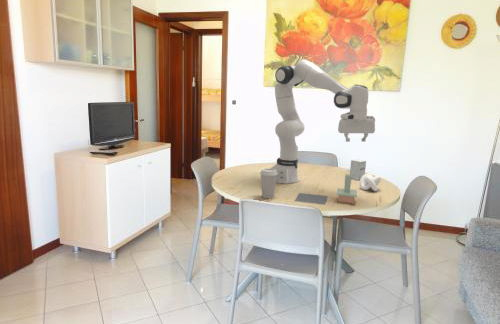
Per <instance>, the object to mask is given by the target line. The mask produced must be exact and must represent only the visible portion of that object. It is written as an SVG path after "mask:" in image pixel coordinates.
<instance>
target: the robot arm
mask: <svg viewBox="0 0 500 324" xmlns="http://www.w3.org/2000/svg"><path fill="white" fill-rule="evenodd" d="M274 77H275V79H276V81H277V82H276V83H275V84H274V85H275V86H274V96H275V103H276V109H277V112H278V114H279V115H280V116H281V118H282V120H281V121H280V122H278V123H277V124H276V125H275V128H274V129H275V134H276V136H277V137H278V141H279V148H280V149H279V151H280V152H279V153H280V154H279V157H278V158H277V159H276V164H274V165H273V166H272V167H270V168H269V169H275V170H276V171H277V173H278V175H277V178H276V184H277V183H279V184H284V185H285V184H293V183H294V184H295V183H298V182H299V181H300V180H299V175H298V167H299V160H298V155H299V154H298V153H299V146H298V145H297V142H296V137H298V136H300V135H302V134H303V133H304V131H305V124H304V123H303V121H302V120H301V119H300V116H299V114H298V111H297V108H296V104H295V99H294V93H293V87H297V86H299V85H300V84H301V83H306V84H307V85H309V86H311V87H312V88H314V89H315V88H316V89H321V90H322V89H323V90H327V91H329V92H331V93H332V94H334V96H333V103H334V106H335V107H336V108H339V109H343V110H344V109H346V110H347V109H348V110H349V111H347V112H344V113H342V114H340V120H339V121H338V128H337V131H338V133H340V134H344V138H345V142H346V143H347V142H350V141H351V138H349V134H363V135H364V136H363V137H361V140H360V141H361V142H366V141H367V140H366V139H367V138H368V136H369V134H374V133H375V132H376V118H375V117H374V116H373V115H368V108H367V106H368V103H369V89H368V87H367V86H366V85H362V84H353V85H352V86H350V87H348V88H347V87H346V86H344V84H341V83H340V82H338V81H337V80H335V79H334V78H333V77H332V76H330V75H329V73H327V72H325V70H323V69H322V68H321V67H319V66H318V65H317V64H315V63H313V62H311V61H310V60H307V59H300V60H299V61H297V63H296V65H283V66H280V67H277V69H276V71H275V76H274Z"/></svg>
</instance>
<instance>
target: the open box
mask: <svg viewBox="0 0 500 324" xmlns="http://www.w3.org/2000/svg"><path fill="white" fill-rule="evenodd" d="M337 199H338V201H337V202H338V203H343V204H349V205H354V206H355V199H356V197H351V196H342V195H338V198H337Z"/></svg>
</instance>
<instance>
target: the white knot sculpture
mask: <svg viewBox="0 0 500 324" xmlns="http://www.w3.org/2000/svg"><path fill="white" fill-rule="evenodd" d="M381 178H382V177H381V176H379V175H376V176H373V175H372V174H370V173H365V175H363V176H362V177H361V179H360V180H359V187H360V188H361V189H362V190H363V191H368V190H370V189H371V190H372V191H373V192H377V191H378V190H379V187H378V185H379V184H380V182H381V180H382V179H381Z"/></svg>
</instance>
